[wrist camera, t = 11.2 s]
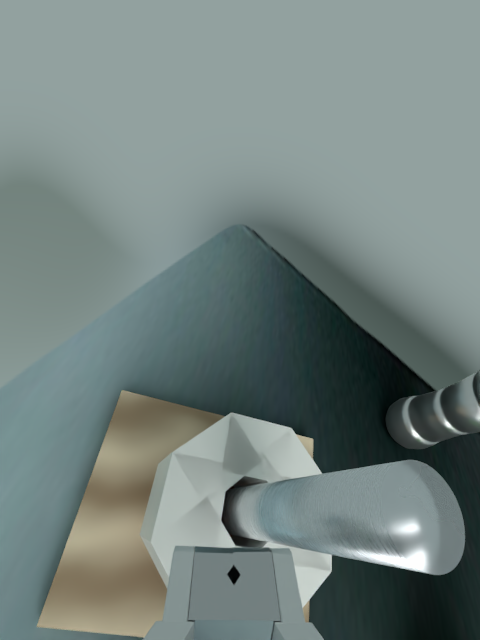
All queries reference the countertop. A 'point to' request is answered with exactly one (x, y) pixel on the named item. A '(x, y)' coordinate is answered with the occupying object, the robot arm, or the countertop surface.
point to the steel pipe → (357, 515)
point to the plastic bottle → (436, 414)
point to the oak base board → (122, 524)
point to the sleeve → (214, 480)
